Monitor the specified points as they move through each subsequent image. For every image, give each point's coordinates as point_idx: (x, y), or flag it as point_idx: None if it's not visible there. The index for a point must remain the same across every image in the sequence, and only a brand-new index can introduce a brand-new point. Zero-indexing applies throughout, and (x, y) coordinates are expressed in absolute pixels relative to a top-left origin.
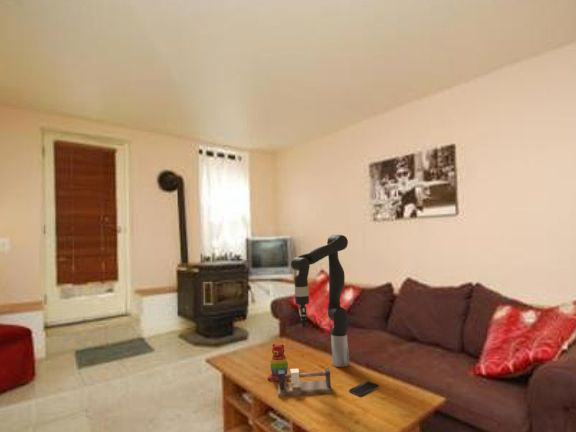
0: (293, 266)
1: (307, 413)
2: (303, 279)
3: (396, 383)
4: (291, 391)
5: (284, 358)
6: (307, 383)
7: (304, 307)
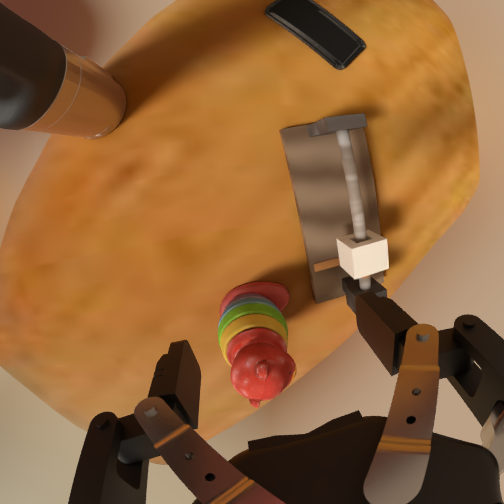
0: None
1: (447, 190)
2: None
3: None
4: None
5: (267, 328)
6: (317, 204)
7: (499, 471)
